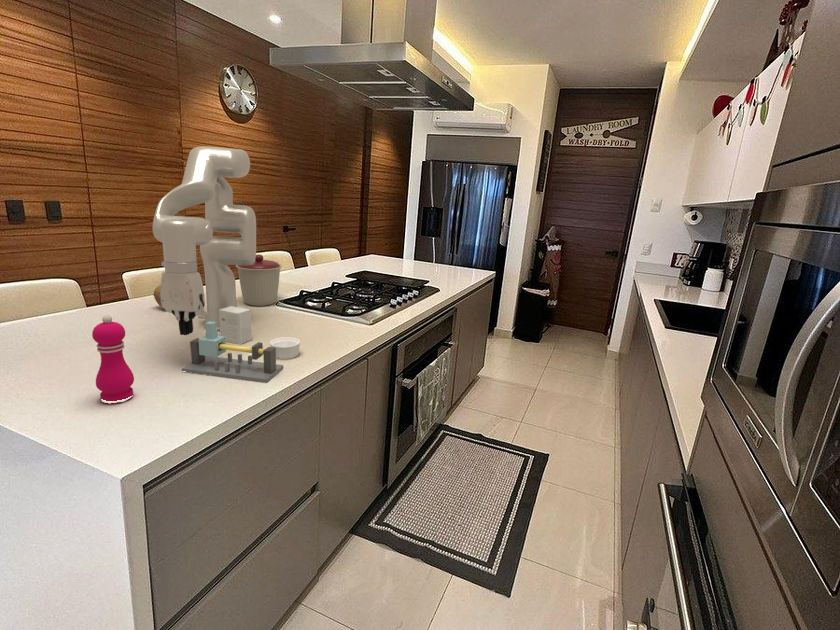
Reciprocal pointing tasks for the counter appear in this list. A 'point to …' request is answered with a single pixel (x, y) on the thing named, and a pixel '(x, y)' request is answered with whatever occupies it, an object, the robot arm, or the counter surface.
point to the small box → (235, 324)
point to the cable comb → (235, 363)
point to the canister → (259, 281)
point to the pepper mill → (112, 361)
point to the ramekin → (286, 347)
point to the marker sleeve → (211, 341)
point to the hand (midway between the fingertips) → (186, 333)
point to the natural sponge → (157, 295)
